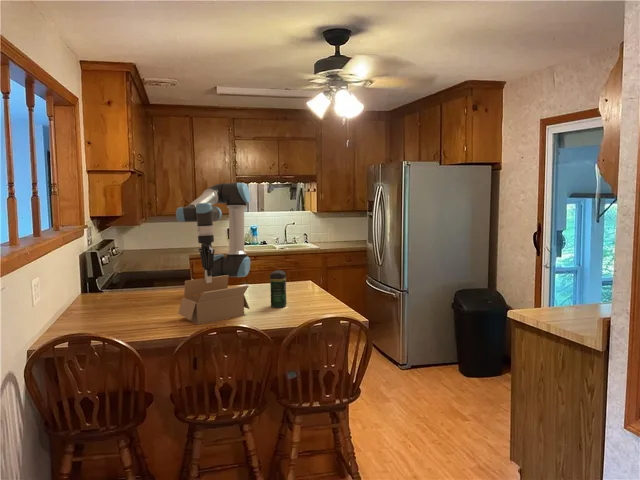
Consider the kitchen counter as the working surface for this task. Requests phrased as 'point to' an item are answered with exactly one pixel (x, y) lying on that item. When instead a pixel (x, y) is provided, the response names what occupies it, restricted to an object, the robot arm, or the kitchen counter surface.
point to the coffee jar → (278, 289)
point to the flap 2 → (223, 293)
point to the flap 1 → (205, 285)
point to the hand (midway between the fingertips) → (208, 282)
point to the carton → (212, 309)
